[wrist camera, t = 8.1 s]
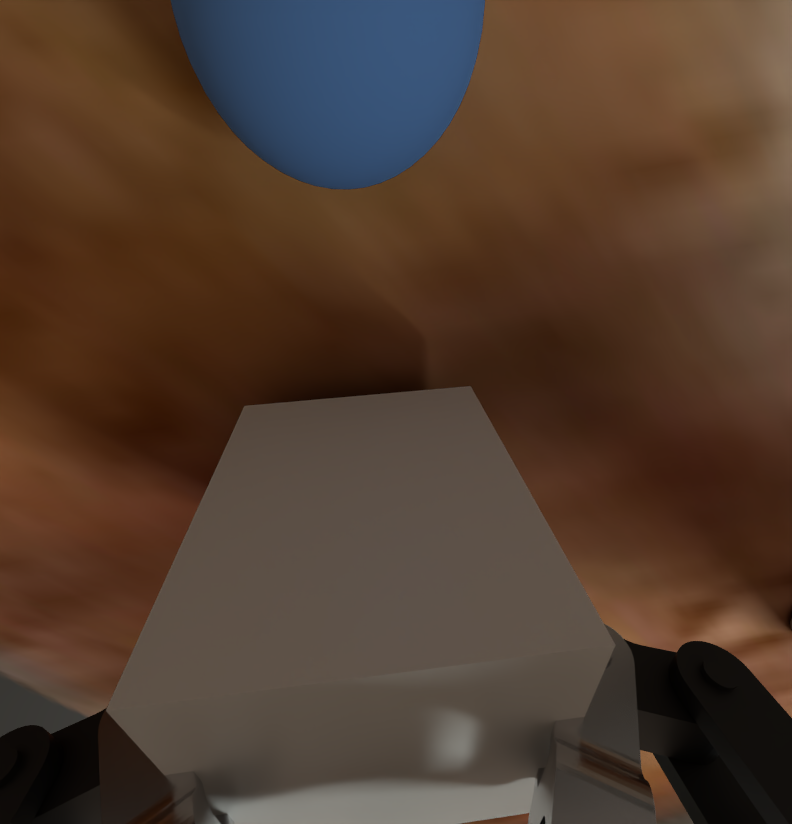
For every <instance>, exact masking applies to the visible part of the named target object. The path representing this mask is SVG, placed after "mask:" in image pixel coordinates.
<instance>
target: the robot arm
mask: <svg viewBox="0 0 792 824" xmlns="http://www.w3.org/2000/svg"><path fill="white" fill-rule="evenodd" d="M790 623H791V630H792V618H791V622H790ZM604 625H605V624H604ZM605 627H606V629H607V631H608V632H609V634H610V636H611V638H612V639H613V641H614V643H615V648H614V650H613V652H612V654H611V657H610V659H609V661H608V664H607V666H606V668H605V671H604V673H603V675H602V678H601V680H600V682H599V685H598V687H597V689H596V692H595V694H594V696H593V698H592V701H591V703H590V705H589V708H588V710H587V712H586V715H585V717H579V718H572V719H565V720H558V721H555V723H554V726H553V729H552V732H551V739H550V747H549V754H548V759H547V764H546V767H544V768H538V771H537V774H536V777H535V784H534V792H533V798H532V803H531V808H530V814H529V820H528V824H656V816H655V806H654V799H653V794H652V790H651V787H650V785H649V783H648V781H647V780H645V779H644V777H643V774H642V770H641V760H640V750H644V751H647V752H651V753H653V754H654V756H655V758H656V760H657V761H658V763H659V765H660V766H661V768H662V770H663V771H664V773H665V775H666V777H667V778H668V780H669V782H670V783H671V785H672V787H673V789H674V790H675V792H676V794H677V795H678V797H679V799H680V801H681V802H682V804H683V806H684V807H685V809H686V811H687V812H688V814H689V816H690V818H691V819H692V821H693V823H694V824H792V718H791V717H790V716H789V715H788V713H787V712H786V711H785V710H784V709H783V708H782V707H781V706H780V704H779V703H778V702H777V701H776V700H775V699H774V698H773V696H772V695H771V694H770V693H769V692H768V691H767V690H766V688H765V687H764V686H763V685H762V684H761V683H760V682H759V680H758V679H757V678H756V677H755V676H754V675H753V674H752V672H751V671H750V670H749V669H748V668H747V667H746V666H745V665H744V664H743V663H742V662H741V661H740V660H739V659H737V658H736V657H735V656H734V655H732V654H731V653H729V652H728V651H726V650H724V649H722V648H720V647H718V646H716V645H713V644H710V643H707V642H702V641H691V642H688V643H685V644H684V645H682V646H681V647H680V649H679V650H678V652H677V653H676V652H671V651H666V650H661V649H657V648H652V647H647V646H642V645H638V644H634V643H632V642H629V641H627V640H625V639H623V638H622V637H621V636H620V635H619V634H618V633H617V632H616V631H615V630H613V629H612V628H611V627H609V626H607V625H605ZM107 707H108V706H107ZM106 709H107V708H106ZM106 709H104V710H103V711H101V712H99V713H97V714H95V715H93V716H90V717H88V718H86V719H84V720H81V721H79V722H77V723H75V724H73V725H70V726H68V727H66V728H64V729H61V730H59V731H57V732H55V733H53V734H50V733H49V732H47V731H46V730H45V729H44V728H43V727H40V726H36V725H29V726H24V727H21V728H17V729H15V730H13V731H11V732H9V733H7V734H5V735H3V736H2V737H0V824H234V821H233V820H232V819H231V817H230V816H229V815H228V814H222V815H215V816H214V815H213V813H212V811H211V809H210V807H209V804H208V802H207V799H206V795H205V792H204V787H203V783H202V781H201V780H200V779H199V777H198V776H197V775H196V774H195V772H194V771H191V772H184V773H177V774H169V775H164V774H163V773H162V772H161V771H160V770H159V769H158V768H157V767H156V765H155V764H154V763H153V762H152V761H151V760H150V759H149V758H148V757H147V756H146V754H145V753H144V752H143V751H142V750H141V749H140V748H139V747H138V746H137V745H136V743H135V742H134V741H133V740H132V739H131V738H130V737H129V736H128V735H127V734H126V732H125V731H124V730H123V729H122V728H121V727H120V726H119V725H118V724H117V723H116V721H115V720H114V719H113V718H112V717H111V716H110V715H109V714H108V713H107V711H106Z"/></svg>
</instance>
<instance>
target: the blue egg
mask: <svg viewBox="0 0 792 824" xmlns="http://www.w3.org/2000/svg"><path fill="white" fill-rule="evenodd" d="M171 4H172V9H173V13H174V16H175V20H176V23H177V27H178V30H179V34H180V37H181V40H182V43H183V45H184V48H185V50H186V53H187V55H188V58H189V61H190V63H191V65H192V67H193V69H194V71H195V73H196V75H197V77H198V79H199V81H200V83H201V85H202V87H203V89H204V91H205V93H206V94H207V96H208V97H209V99H210V101H211V102H212V104H213V105H214V107H215V109H216V110H217V112H218V113H219V115H220V116H221V117H222V119H223V120H224V121H225V122H226V124H227V125H228V126H229V128H230V129H231V130H232V131H233V132H234V133H235V135H236V136H237V137H238V138H239V139H240V140H241V141H242V142H243V143H244V144H245V145H246V146H247V147H248V148H249V149H250V150H252V151H253V152H254V153H255V154H256V155H258V156H259V157H260V158H261V159H262V160H264V161H265V162H267V163H268V164H270V165H271V166H273V167H274V168H276V169H277V170H279V171H280V172H282V173H284V174H286V175H289V176H291V177H293V178H295V179H297V180H299V181H302V182H305V183H308V184H311V185H314V186H319V187H324V188H330V189H356V188H364V187H368V186H372V185H375V184H379V183H382V182H384V181H386V180H388V179H391V178H393V177H395V176H397V175H398V174H400V173H401V172H403V171H405V170H406V169H408V168H409V167H411V166H412V165H413V164H414V163H415V162H417V161H418V160H419V159H420V158H421V157H423V156H424V155H425V154H426V153H427V152H428V151H429V150H430V148H431V147H432V146H433V145H434V144H435V143H436V142H437V141H438V140H439V138H440V137H441V135H442V134H443V133H444V131H445V130H446V128H447V127H448V126H449V124H450V122H451V121H452V119H453V117H454V115H455V113H456V112H457V110H458V108H459V106H460V104H461V102H462V99H463V97H464V94H465V92H466V90H467V87H468V85H469V82H470V78H471V75H472V72H473V68H474V65H475V62H476V58H477V54H478V49H479V44H480V39H481V34H482V26H483V16H484V7H485V0H171Z"/></svg>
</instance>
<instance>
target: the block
mask: <svg viewBox="0 0 792 824" xmlns="http://www.w3.org/2000/svg"><path fill="white" fill-rule="evenodd" d="M614 648H615V643H614V641H613V639H612V638H611V636H610V634H609V632H608V631H607V629H606V627H605V625H604V623H603V622H602V620H601V618H600V616H599V614H598V613H597V611H596V609H595V607H594V606H593V604H592V602H591V600H590V598H589V597H588V595H587V593H586V591H585V589H584V588H583V586H582V584H581V582H580V581H579V579H578V577H577V575H576V573H575V572H574V570H573V568H572V566H571V564H570V563H569V561H568V559H567V557H566V555H565V554H564V552H563V550H562V548H561V547H560V545H559V543H558V541H557V539H556V538H555V536H554V534H553V532H552V530H551V529H550V527H549V525H548V523H547V522H546V520H545V518H544V516H543V514H542V513H541V511H540V509H539V507H538V505H537V504H536V502H535V500H534V498H533V497H532V495H531V493H530V491H529V489H528V488H527V486H526V484H525V482H524V480H523V479H522V477H521V475H520V473H519V472H518V470H517V468H516V466H515V464H514V463H513V461H512V459H511V457H510V455H509V454H508V452H507V450H506V448H505V447H504V445H503V443H502V441H501V439H500V438H499V436H498V434H497V432H496V430H495V429H494V427H493V425H492V423H491V421H490V420H489V418H488V416H487V414H486V413H485V411H484V409H483V407H482V405H481V404H480V402H479V400H478V398H477V396H476V395H475V393H474V391H473V389H472V388H471V386H466V387H454V388H443V389H431V390H420V391H408V392H397V393H386V394H374V395H363V396H351V397H340V398H328V399H317V400H306V401H294V402H283V403H271V404H260V405H248V406H244V408H243V410H242V412H241V414H240V417H239V419H238V421H237V423H236V425H235V428H234V430H233V432H232V434H231V436H230V439H229V441H228V443H227V445H226V447H225V450H224V452H223V454H222V456H221V458H220V461H219V463H218V465H217V467H216V469H215V472H214V474H213V476H212V478H211V480H210V483H209V485H208V487H207V489H206V491H205V494H204V496H203V498H202V500H201V502H200V505H199V507H198V509H197V511H196V513H195V516H194V518H193V520H192V522H191V524H190V527H189V529H188V531H187V533H186V535H185V538H184V540H183V542H182V544H181V546H180V549H179V551H178V553H177V555H176V557H175V560H174V562H173V564H172V566H171V568H170V571H169V573H168V575H167V577H166V579H165V582H164V584H163V586H162V588H161V590H160V592H159V595H158V597H157V599H156V601H155V603H154V606H153V608H152V610H151V612H150V614H149V617H148V619H147V621H146V623H145V625H144V628H143V630H142V632H141V634H140V636H139V639H138V641H137V643H136V645H135V647H134V650H133V652H132V654H131V656H130V658H129V661H128V663H127V665H126V667H125V669H124V672H123V674H122V676H121V678H120V680H119V683H118V685H117V687H116V689H115V691H114V694H113V696H112V698H111V700H110V702H109V705H108V707H107V709H106V711H107V713H108V714H109V715H110V716H111V717H112V718H113V719H114V720H115V721H116V723H117V724H118V725H119V726H120V727H121V728H122V729H123V730H124V731H125V732H126V734H127V735H128V736H129V737H130V738H131V739H132V740H133V741H134V742H135V743H136V745H137V746H138V747H139V748H140V749H141V750H142V751H143V752H144V753H145V754H146V756H147V757H148V758H149V759H150V760H151V761H152V762H153V763H154V764H155V765H156V767H157V768H158V769H159V770H160V771H161V772H162V773H163V774H164V775H169V774H177V773H184V772H191V771H194V772H195V774H196V775H197V776H198V777H199V779H200V780H201V781H202V783H203V787H204V792H205V795H206V799H207V802H208V804H209V807H210V809H211V811H212V813H213V815H214V816H215V815H222V814H228V815H229V816H230V817H231V819H232V820H233V821H234V824H459V823H466V822H473V821H479V820H486V819H492V818H499V817H505V816H512V815H518V814H525V813H530V808H531V803H532V798H533V792H534V784H535V777H536V774H537V771H538V768H544V767H546V764H547V759H548V754H549V747H550V739H551V732H552V729H553V726H554V723H555V721H558V720H565V719H572V718H579V717H585V715H586V712H587V710H588V708H589V705H590V703H591V701H592V698H593V696H594V694H595V692H596V689H597V687H598V685H599V682H600V680H601V678H602V675H603V673H604V671H605V668H606V666H607V664H608V661H609V659H610V657H611V654H612V652H613V650H614Z"/></svg>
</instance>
